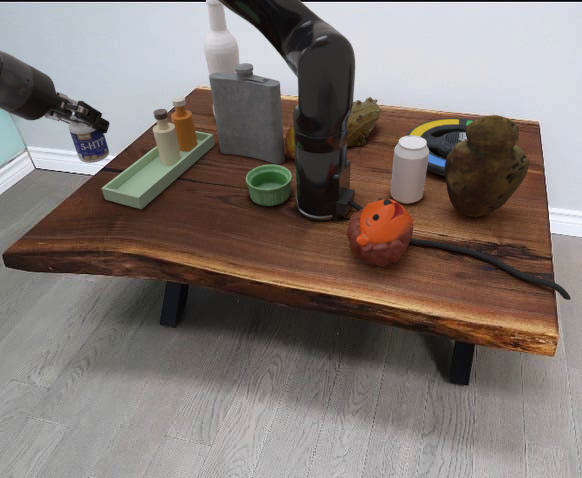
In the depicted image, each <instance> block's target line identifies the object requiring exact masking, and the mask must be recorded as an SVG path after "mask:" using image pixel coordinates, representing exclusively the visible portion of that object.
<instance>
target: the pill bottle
mask: <svg viewBox="0 0 582 478" xmlns="http://www.w3.org/2000/svg"><path fill="white" fill-rule="evenodd" d="M74 114H75V113H74V112H73V113H72V116H71V117H70V118H71V119H73V117H74ZM68 131H69V134H70V136H71V139H72V142H73V145H74V148H75V151H76V155H77V157H78V159H79V161H80V162H82V163H85V164H92V163H93V164H94V163H98V162H101V161H104V160H105V159H106V158H108V156H109V155H110V150H109V146H108V143H107V138H106V136H105V133H101V132H99V131H97V130H95V129H93V128H91V127H90V128H89V127H87V126H85V125H83V124H72V123H70V124H68Z"/></svg>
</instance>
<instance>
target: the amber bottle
mask: <svg viewBox="0 0 582 478" xmlns="http://www.w3.org/2000/svg"><path fill="white" fill-rule="evenodd" d="M171 103H172V106H173V107H174V110H175V111H174V112H172V113H171V115H170V119H171V123H172V124H174V125H175V129H176V134H177V139H178V144H179V148H180V151H183V152H189V151H191V150H193V149H194V148H195V147H196V146H197V145H198V143H197V138H196V132H195V131H196V127H195V122H194V116H193V112H192V111H191V110H189V109H186V104H187V101H186V98H185V97H184V96H181V95H180V96H174V97H173V98H171Z"/></svg>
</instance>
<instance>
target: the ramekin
mask: <svg viewBox="0 0 582 478" xmlns="http://www.w3.org/2000/svg"><path fill="white" fill-rule="evenodd" d="M292 179H293V174H292V172H291V171H290V169H288V168H287V167H286V166H283V165H280V164H263V165H259V166H257V167H254V168H252V169H251V170H249V171H248V172H247V174H246V176H245V182H246V185H247V188H248V194H249V197H250V199H251V200H252V202H254V203H255V204H257V205H260V206H264V207H272V206H277V205H280V204H283V203H284V202H286V201H287V200H288V199H289V197H290V195H291V186H292Z"/></svg>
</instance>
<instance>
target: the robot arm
mask: <svg viewBox="0 0 582 478" xmlns="http://www.w3.org/2000/svg"><path fill="white" fill-rule="evenodd" d="M217 1H218V2H220V3H221V4H222V5H223V6H224V8H226V9H228V10H229V11H231V12H232V13H234V14H235V15H237V16H238V17H239V18H242V20H244V21H246V22H247V23H249V24H250V25H252V26H253V27H254V28H255V29H256V30H257V31H258V32H259V33H261V35H262V36H263V37H264V38H265V39H266V40H267V42H268V43H270V45H271V46H272V47H273V48H274V50H275V51H276V52H277V53H278V54H279V56H280V57H281V58H282V59H283V60H284V62H285V63H286V65H287V66H288V68H289V69H290V70H291V72H292V73H293V74H294V75H295V77H296V78H297V94H298V95H297V105H296V106H295V108H294V109H293V113H292V117H293V118H292V122H293V124H292V125H294V146H295V159H294V162H295V163H294V164H295V165H294V166H295V186H296V187H295V189H296V195H295V199H296V209H297V212H298V213H299V214H300V215H301V216H302V217H303V218H305V219H307V220H311V221H316V222H328V221H340V219H341V217H342V216H343V217H346V216H347V214H348V213H349V211H350V210H351V208H352V209H354V210H356V211H357V212H359V210H361V209H362V208H364V207H363V206H361V205H360V204H358V203H356V202H355V200H356V199H355V197H356V190H355V189H354V188H351V167H352V164H351V163H352V162H351V160H350V159H348V146H347V139H348V117H349V115H350V113H351V110H352V106H353V102H354V97H355V82H356V54H355V51H354V47H353V44H352V43H351V42H350V40H349V39H348V38H347V37H346V36H345V35H343V34H342V32H340V31H339V30H337V29H336V28H335V27H334V26H333V25H331V24H330V23H329V22H327V21H325V20H324V19H323V18H321V17H320V16H318V15H317V13H315V12H314V11H313V10H311V9H310V8H309V7H308V6H307V5H306V4H305V3H304V2H303V1H301V0H217ZM0 110H2V111H4V112H7V113H9V114H12V115H14V116H17V117H18V118H21V119H24V120H26V121H38V120H40V119H42V118H44V117H45V118H46V119H49V120H52V121H57V122H63V123H65V124H67V125H69V124H70V123H72V124H83V125H85V126H87V127H89V128H90V127H91V128H93V129H95V130H97V131H99V132H101V133H104V134H107V133H108V130H109V128H110V121H109V120H107V119H106V118H103V117H102V116H103V113H102V112H101V111H99V110H98V109H96V108H94V107H93V106H92V105H90V104H88V103H86V102H85V101H84V100H78V101H77V100H74V99H72V98H70V97H69V96H68V95H67V94H64V93H63V92H59V91H57V89H56V86H55V83H54V81H53V79H52V78H51V77H50V76H49V75H48V74H47V73H44V72H43V71H41V70H39V69H37V68H35V67H34V66H32V65H30V64H28V63H27V62H24V61H23V60H21V59H20V58H17V57H15V56H14V55H12V54H10V53H8V52H6V51H3V50H0ZM73 112H74V113H75V114H74V117H73V119H71V118H70V117H71V116H72V113H73ZM409 244H412V245H416V246H417V245H418V246H424V247H433V248H438V249H444V250H448V251H453V252H456V253H460V254H465V255H469V256H471V257H475V258H477V259H480V260H483V261H486V262H488V263H490V264H493V265H495V266H496V267H499V268H501V269H503V270H504V271H506V272H508V273H510V274H512V275H514V276H515V277H517V278H519V279H522V280H523V281H526V282H529V283H532V284H535V285H536V284H537V285H540V286H544V287H547V288H551V289H552V290H554V291H555V292H557V293H558V294H559V295H560V296H561V297H562V298H563V299H564V300H566V301H570V300H572V299H571V296H570V294H569V293H568V291H566V289H565V288H563V286H561V285H560V284H558V283H556V282H554V281H551V280H548V279H544V278H540V277H535V276H533V275H529V274H527V273H524V272H522V271H521V270H518V269H517V268H515V267H513V266H511V265H509V264H507V263H505V262H504V261H501V260H500V259H499V258H495V257H493V256H491V255H488V254H486V253H483V252H480V251H477V250H474V249H470V248H467V247H463V246H458V245H454V244H450V243H445V242H440V241H436V240H435V241H434V240H426V239H420V238H414V237H411V239H410V242H409Z"/></svg>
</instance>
